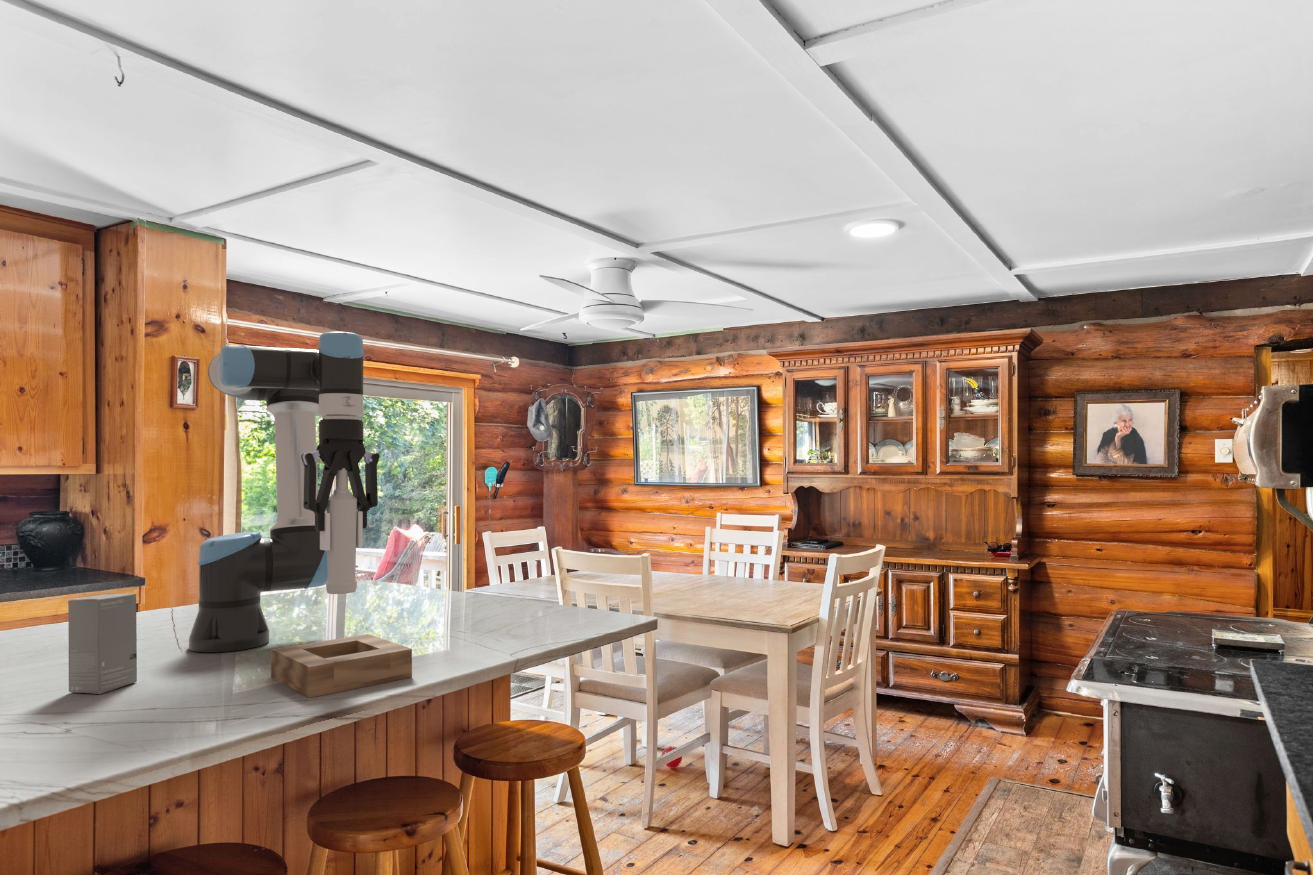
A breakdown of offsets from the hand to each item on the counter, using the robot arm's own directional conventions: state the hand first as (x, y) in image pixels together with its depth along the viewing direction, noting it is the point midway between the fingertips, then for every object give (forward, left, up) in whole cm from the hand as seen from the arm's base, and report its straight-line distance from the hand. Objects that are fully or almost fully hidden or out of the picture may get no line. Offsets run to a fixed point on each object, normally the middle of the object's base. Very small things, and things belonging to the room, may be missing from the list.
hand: (341, 548), depth 148 cm
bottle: (0, 0, -8) cm, 8 cm away
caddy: (0, 0, -23) cm, 23 cm away
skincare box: (-23, -32, -23) cm, 46 cm away
